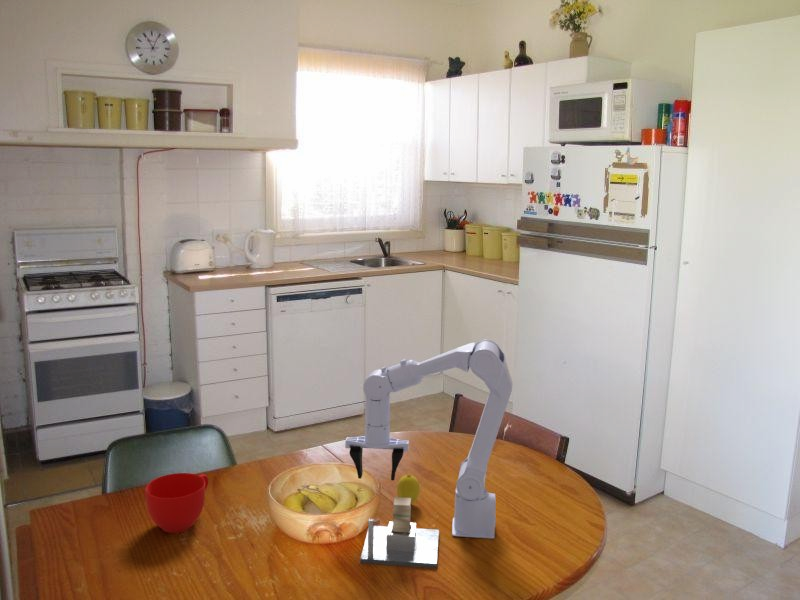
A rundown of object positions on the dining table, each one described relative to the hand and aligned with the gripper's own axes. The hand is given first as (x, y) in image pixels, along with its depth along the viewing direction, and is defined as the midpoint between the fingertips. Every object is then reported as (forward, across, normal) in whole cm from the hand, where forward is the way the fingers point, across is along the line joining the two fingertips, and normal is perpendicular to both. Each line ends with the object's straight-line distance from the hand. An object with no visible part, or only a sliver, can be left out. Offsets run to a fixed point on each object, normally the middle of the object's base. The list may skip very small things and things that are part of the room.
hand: (376, 477), depth 165 cm
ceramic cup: (+11, +44, +7) cm, 46 cm away
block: (+6, -7, +12) cm, 15 cm away
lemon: (+11, -7, -8) cm, 15 cm away
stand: (+10, -7, +12) cm, 17 cm away
